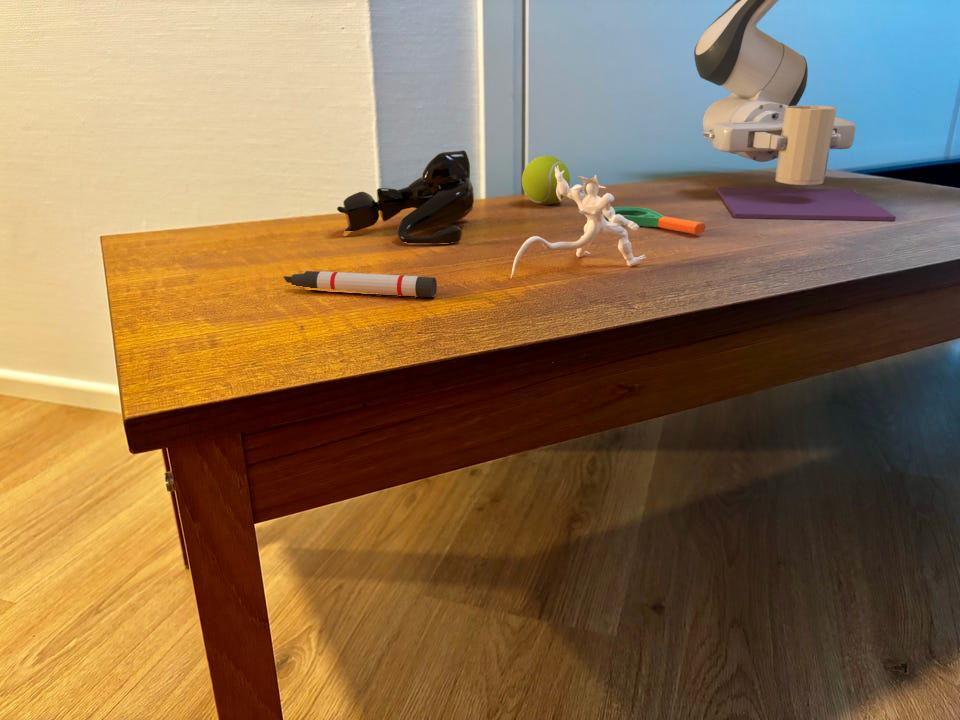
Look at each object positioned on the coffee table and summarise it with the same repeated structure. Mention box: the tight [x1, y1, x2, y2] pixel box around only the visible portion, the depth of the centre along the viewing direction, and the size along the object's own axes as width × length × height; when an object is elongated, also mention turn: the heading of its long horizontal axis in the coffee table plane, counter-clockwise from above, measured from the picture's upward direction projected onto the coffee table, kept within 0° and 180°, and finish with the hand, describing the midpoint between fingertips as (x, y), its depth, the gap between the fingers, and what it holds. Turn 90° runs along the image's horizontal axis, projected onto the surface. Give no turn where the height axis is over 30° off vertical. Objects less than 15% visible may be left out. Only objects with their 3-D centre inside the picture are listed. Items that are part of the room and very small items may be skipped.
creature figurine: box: [510, 165, 647, 279], centre depth 75 cm, size 12×11×12 cm
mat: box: [716, 186, 897, 222], centre depth 106 cm, size 20×20×1 cm
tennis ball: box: [521, 155, 571, 206], centre depth 108 cm, size 7×7×7 cm
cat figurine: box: [336, 150, 475, 244], centre depth 91 cm, size 10×14×18 cm
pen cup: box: [775, 105, 837, 186], centre depth 103 cm, size 6×6×10 cm
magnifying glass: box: [604, 206, 706, 236], centre depth 94 cm, size 15×6×2 cm, turn 35°
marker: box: [283, 270, 438, 298], centre depth 70 cm, size 15×2×2 cm, turn 77°
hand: (809, 142), depth 102 cm, fingers closed on pen cup, 6 cm apart
